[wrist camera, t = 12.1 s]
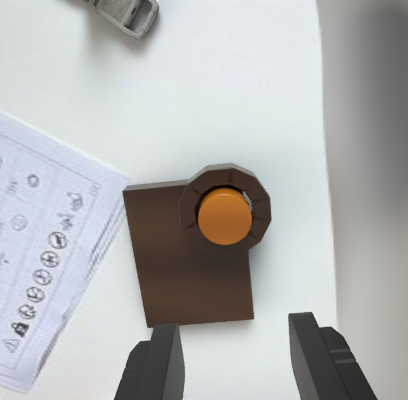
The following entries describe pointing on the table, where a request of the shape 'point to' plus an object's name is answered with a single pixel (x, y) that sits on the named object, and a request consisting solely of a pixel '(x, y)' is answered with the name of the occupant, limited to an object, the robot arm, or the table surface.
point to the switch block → (193, 248)
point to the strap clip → (125, 14)
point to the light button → (224, 216)
